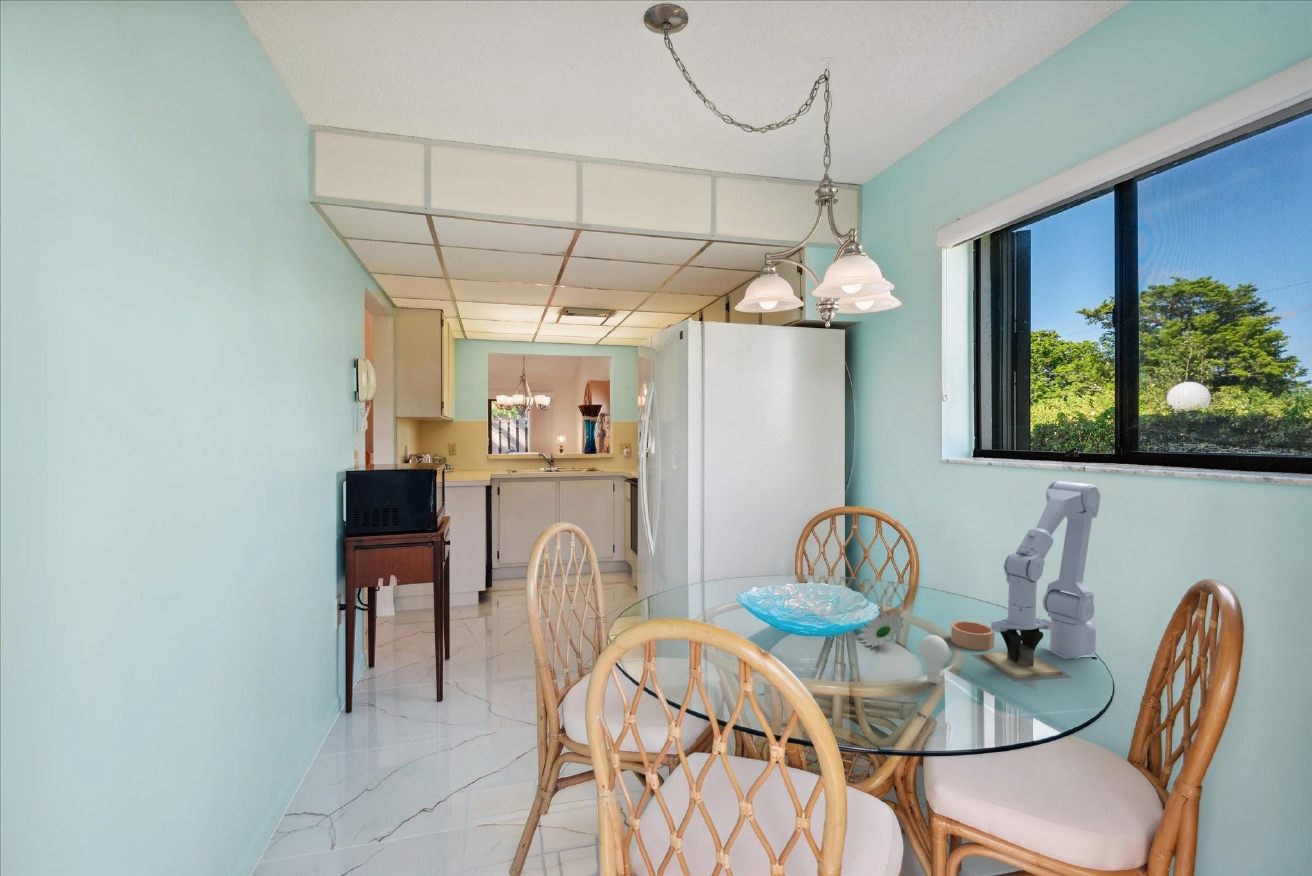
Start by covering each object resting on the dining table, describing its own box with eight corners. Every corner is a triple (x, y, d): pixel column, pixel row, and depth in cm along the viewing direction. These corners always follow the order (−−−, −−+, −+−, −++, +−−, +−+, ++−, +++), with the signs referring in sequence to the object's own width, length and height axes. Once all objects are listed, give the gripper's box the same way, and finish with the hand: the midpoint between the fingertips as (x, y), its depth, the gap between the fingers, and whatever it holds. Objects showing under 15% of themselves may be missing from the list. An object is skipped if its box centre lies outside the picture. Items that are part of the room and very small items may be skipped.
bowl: (976, 636, 168) (977, 620, 168) (1002, 650, 159) (1002, 633, 158) (943, 638, 167) (943, 622, 167) (966, 652, 157) (967, 635, 157)
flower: (866, 594, 187) (908, 616, 157) (876, 609, 187) (920, 634, 157) (831, 618, 186) (865, 645, 156) (841, 633, 186) (877, 663, 156)
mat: (1025, 653, 157) (1025, 651, 157) (1072, 679, 142) (1072, 677, 142) (971, 656, 155) (971, 654, 155) (1014, 683, 140) (1014, 681, 140)
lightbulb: (940, 677, 143) (941, 631, 142) (952, 689, 136) (954, 641, 136) (914, 677, 143) (915, 630, 142) (924, 689, 137) (926, 640, 136)
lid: (1024, 654, 155) (1024, 635, 155) (1062, 674, 143) (1062, 654, 143) (980, 656, 153) (981, 638, 153) (1015, 677, 141) (1016, 657, 141)
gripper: (1036, 597, 153) (1034, 651, 153) (983, 600, 150) (981, 654, 151) (1059, 606, 146) (1057, 662, 146) (1003, 609, 143) (1001, 666, 144)
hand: (1020, 659), depth 148 cm, fingers closed on lid, 3 cm apart
